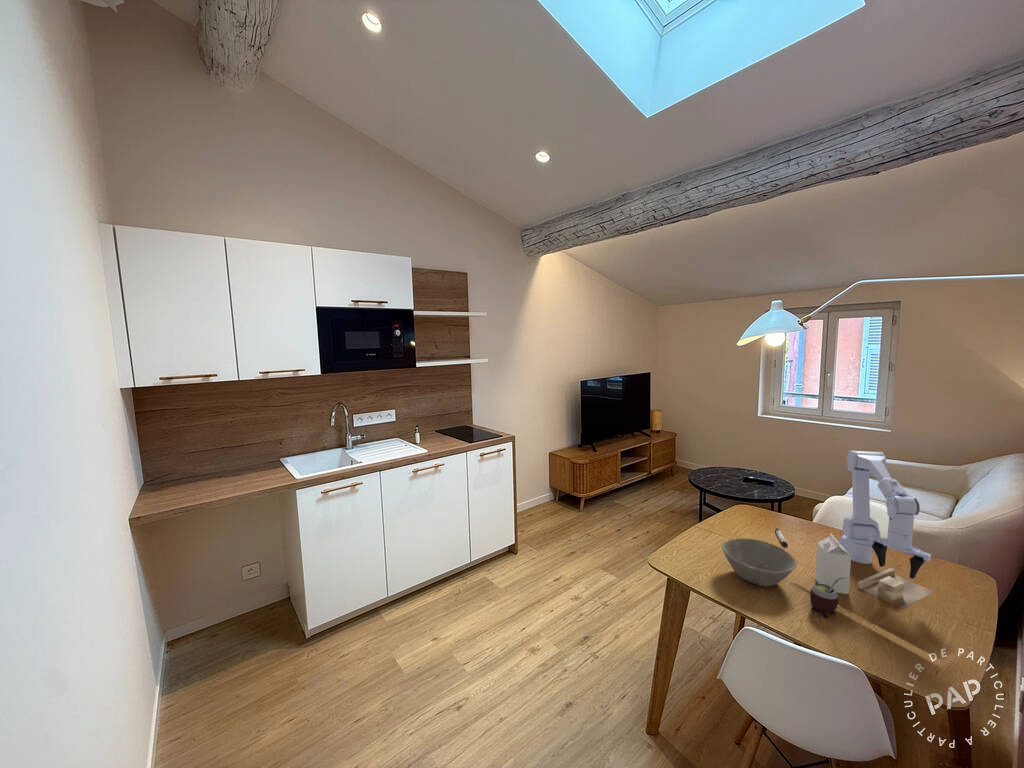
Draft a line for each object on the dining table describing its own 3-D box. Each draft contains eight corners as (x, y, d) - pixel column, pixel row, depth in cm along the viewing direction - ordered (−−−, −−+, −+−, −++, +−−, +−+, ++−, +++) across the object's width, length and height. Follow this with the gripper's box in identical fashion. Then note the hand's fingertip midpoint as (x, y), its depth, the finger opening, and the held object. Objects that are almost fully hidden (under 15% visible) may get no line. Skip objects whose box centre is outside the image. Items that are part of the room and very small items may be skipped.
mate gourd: (806, 602, 132) (809, 559, 131) (836, 607, 129) (838, 564, 128) (813, 616, 125) (816, 572, 124) (844, 623, 122) (848, 577, 121)
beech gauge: (877, 594, 133) (878, 580, 132) (887, 589, 135) (888, 576, 135) (892, 601, 129) (893, 587, 129) (902, 596, 131) (904, 582, 131)
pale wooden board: (856, 591, 137) (857, 581, 137) (889, 576, 145) (890, 567, 144) (901, 613, 126) (902, 602, 126) (934, 596, 134) (935, 586, 133)
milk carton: (839, 585, 140) (842, 534, 138) (848, 598, 134) (852, 544, 132) (815, 582, 143) (818, 532, 141) (823, 594, 136) (826, 541, 134)
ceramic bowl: (722, 556, 161) (723, 533, 160) (791, 571, 149) (792, 546, 148) (719, 586, 142) (720, 560, 141) (798, 606, 130) (800, 578, 129)
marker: (787, 547, 167) (788, 543, 167) (782, 546, 167) (782, 542, 167) (778, 531, 181) (779, 526, 181) (773, 530, 182) (773, 526, 181)
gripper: (866, 525, 134) (863, 563, 135) (925, 545, 121) (921, 586, 122) (876, 521, 137) (873, 558, 138) (935, 539, 124) (931, 580, 125)
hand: (896, 571), depth 131 cm, fingers open, 7 cm apart
